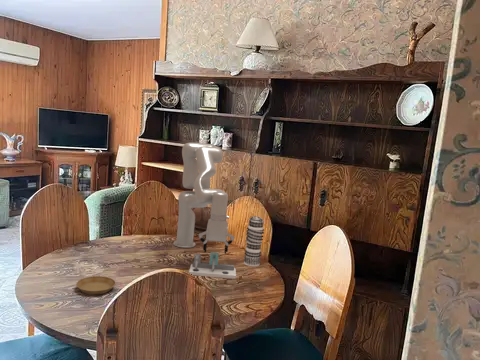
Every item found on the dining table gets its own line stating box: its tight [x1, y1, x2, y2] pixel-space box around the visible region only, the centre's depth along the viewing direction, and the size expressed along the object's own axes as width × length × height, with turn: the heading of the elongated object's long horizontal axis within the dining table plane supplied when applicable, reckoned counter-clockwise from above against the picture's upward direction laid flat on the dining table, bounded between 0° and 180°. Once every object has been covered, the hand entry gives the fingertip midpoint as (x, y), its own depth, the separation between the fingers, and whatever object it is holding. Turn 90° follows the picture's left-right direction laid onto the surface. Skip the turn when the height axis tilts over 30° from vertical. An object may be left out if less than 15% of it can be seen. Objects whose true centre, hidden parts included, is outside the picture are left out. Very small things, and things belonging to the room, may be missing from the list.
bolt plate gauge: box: [188, 253, 237, 280], centre depth 185 cm, size 10×22×8 cm, turn 92°
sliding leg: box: [208, 251, 220, 271], centre depth 185 cm, size 8×4×7 cm, turn 2°
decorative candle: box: [243, 216, 265, 267], centre depth 202 cm, size 9×9×25 cm
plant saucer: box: [76, 275, 116, 296], centre depth 155 cm, size 15×15×3 cm
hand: (215, 252), depth 186 cm, fingers open, 9 cm apart
